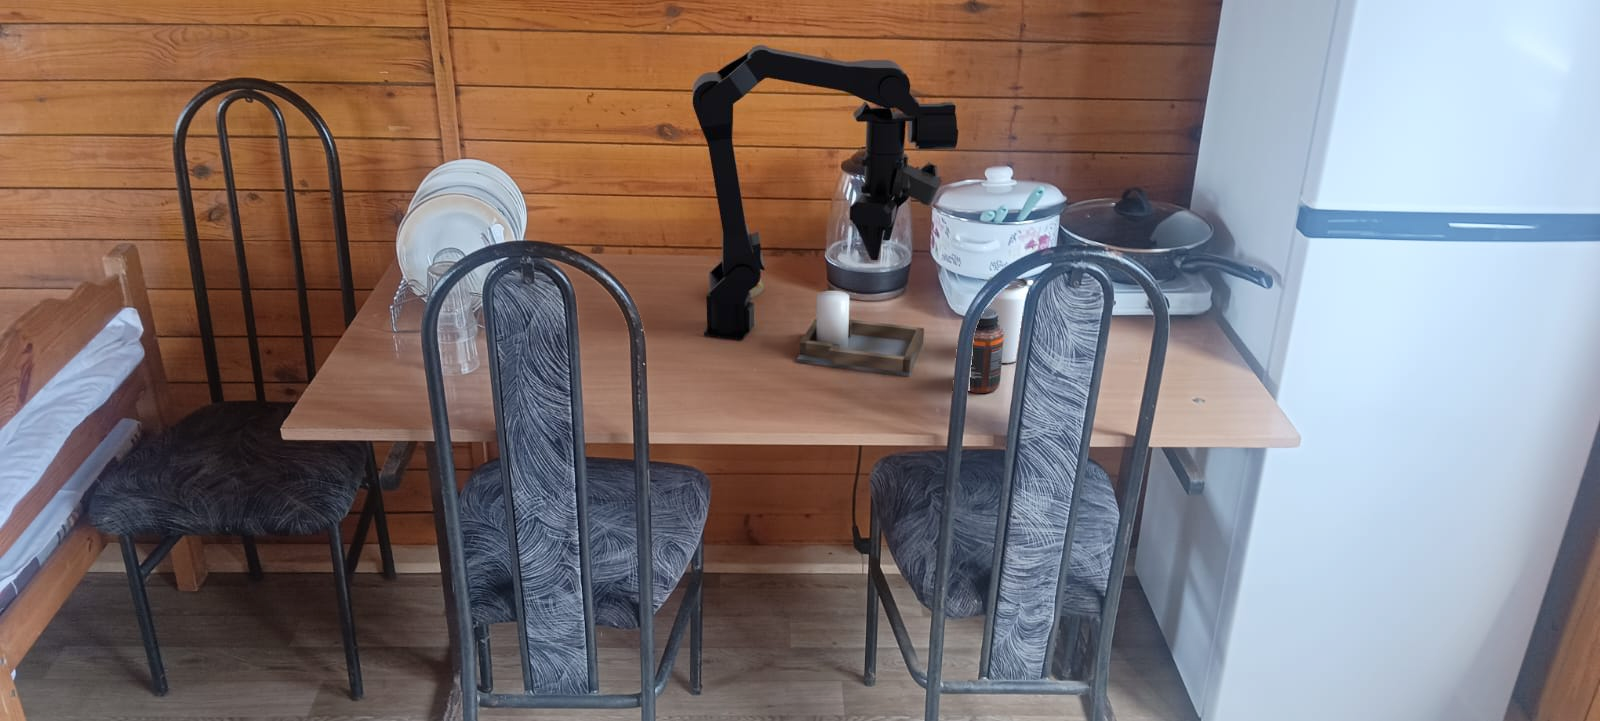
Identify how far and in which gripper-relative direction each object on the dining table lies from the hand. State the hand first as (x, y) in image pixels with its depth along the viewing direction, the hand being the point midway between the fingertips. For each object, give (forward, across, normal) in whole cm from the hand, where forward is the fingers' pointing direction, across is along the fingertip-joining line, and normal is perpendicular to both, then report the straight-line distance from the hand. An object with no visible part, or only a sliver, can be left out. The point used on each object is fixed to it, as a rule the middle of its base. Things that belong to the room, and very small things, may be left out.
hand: (880, 249), depth 176 cm
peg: (+12, -10, +5) cm, 17 cm away
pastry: (+14, +7, +25) cm, 30 cm away
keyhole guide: (+13, -10, 0) cm, 16 cm away
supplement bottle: (+13, -16, -18) cm, 27 cm away
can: (+13, -5, -20) cm, 24 cm away
